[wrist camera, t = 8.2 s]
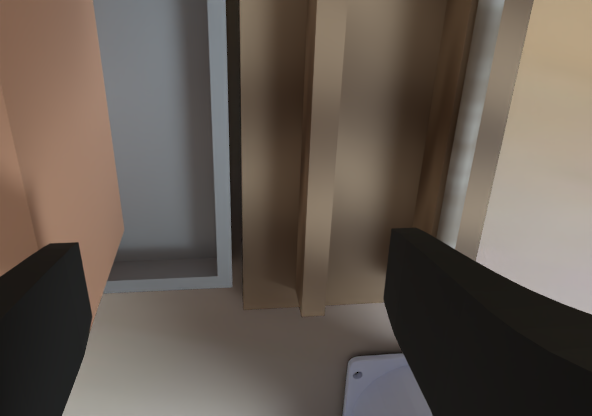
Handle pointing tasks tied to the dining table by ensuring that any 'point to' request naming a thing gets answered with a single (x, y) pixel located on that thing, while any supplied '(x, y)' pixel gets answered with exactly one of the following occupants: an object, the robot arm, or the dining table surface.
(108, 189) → the tan flat block
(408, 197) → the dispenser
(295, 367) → the dining table surface
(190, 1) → the tray
